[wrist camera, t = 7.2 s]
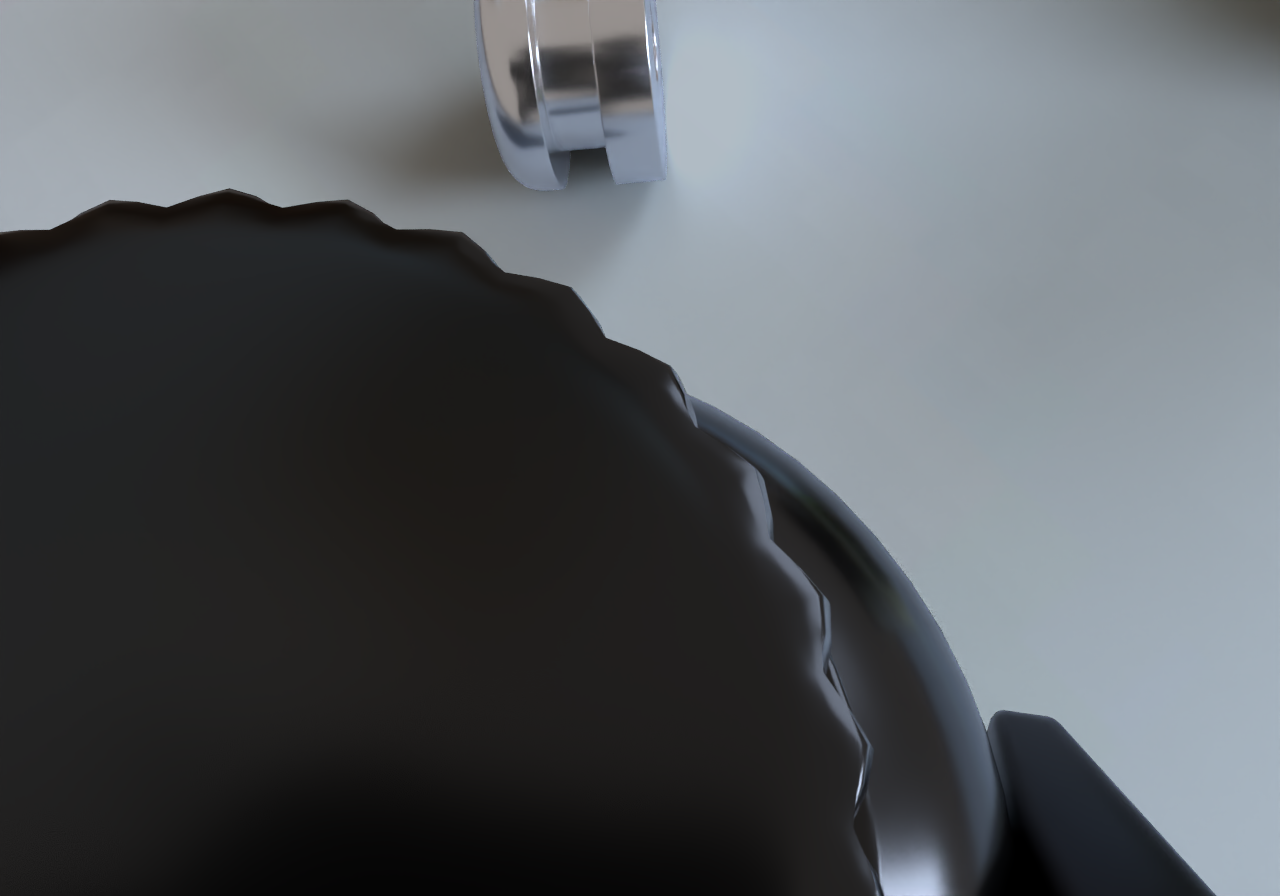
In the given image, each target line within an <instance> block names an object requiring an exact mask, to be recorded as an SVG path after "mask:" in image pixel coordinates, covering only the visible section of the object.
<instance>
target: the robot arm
mask: <svg viewBox="0 0 1280 896" xmlns="http://www.w3.org/2000/svg"><path fill="white" fill-rule="evenodd" d="M987 734H988V737H989V740H990V744H991V747H992V751H993V754H994V758H995V761H996V765H997V768H998V772H999V775H1000V779H1001V782H1002V786H1003V789H1004V793H1005V798H1006V803H1007V809H1008V814H1009V819H1010V825H1011V830H1012V835H1013V841H1014V846H1015V851H1016V859H1017V870H1018V881H1019V892H1020V896H1216V895H1215V894H1214V893H1213V892H1212V890H1211V889H1210V888H1209V887H1208V886H1207V885H1206V884H1205V883H1204V882H1203V881H1202V879H1201V878H1200V877H1199V876H1198V875H1197V874H1196V873H1195V872H1194V871H1193V870H1192V868H1191V867H1190V866H1189V865H1188V864H1187V863H1186V862H1185V861H1184V860H1183V859H1182V857H1181V856H1180V855H1179V854H1178V853H1177V852H1176V851H1175V850H1174V849H1173V848H1172V846H1171V845H1170V844H1169V843H1168V842H1167V841H1166V840H1165V839H1164V838H1163V836H1162V835H1161V834H1160V833H1159V832H1158V831H1157V830H1156V829H1155V828H1154V827H1153V825H1152V824H1151V823H1150V822H1149V821H1148V820H1147V819H1146V818H1145V817H1144V816H1143V814H1142V813H1141V812H1140V811H1139V810H1138V809H1137V808H1136V807H1135V806H1134V805H1133V803H1132V802H1131V801H1130V800H1129V799H1128V798H1127V797H1126V796H1125V795H1124V794H1123V792H1122V791H1121V790H1120V789H1119V788H1118V787H1117V786H1116V785H1115V784H1114V783H1113V781H1112V780H1111V779H1110V778H1109V777H1108V776H1107V775H1106V774H1105V773H1104V772H1103V770H1102V769H1101V768H1100V767H1099V766H1098V765H1097V764H1096V763H1095V762H1094V761H1093V759H1092V758H1091V757H1090V756H1089V755H1088V754H1087V753H1086V752H1085V751H1084V750H1083V748H1082V747H1081V746H1080V745H1079V744H1078V743H1077V742H1076V741H1075V740H1074V739H1073V737H1072V736H1071V735H1070V734H1069V733H1068V732H1067V731H1066V730H1065V729H1064V728H1063V726H1062V725H1061V724H1060V723H1058V722H1057V721H1056V720H1055V719H1053V718H1051V717H1048V716H1040V715H1033V714H1026V713H1019V712H1012V711H1005V710H1000V711H998V712H996V713H995V714H994V716H993V717H992V718H991V720H990V723H989V726H988V730H987Z"/></svg>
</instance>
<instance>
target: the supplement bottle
mask: <svg viewBox="0 0 1280 896" xmlns="http://www.w3.org/2000/svg"><path fill="white" fill-rule="evenodd" d="M0 896H1020V892H1019V881H1018V870H1017V859H1016V851H1015V846H1014V841H1013V835H1012V830H1011V825H1010V819H1009V814H1008V809H1007V803H1006V798H1005V793H1004V789H1003V786H1002V782H1001V779H1000V775H999V772H998V768H997V765H996V761H995V758H994V754H993V751H992V747H991V744H990V740H989V737H988V734H987V731H986V729H985V726H984V724H983V721H982V718H981V716H980V713H979V711H978V708H977V706H976V703H975V701H974V698H973V695H972V693H971V690H970V688H969V685H968V683H967V680H966V678H965V676H964V674H963V672H962V670H961V668H960V666H959V664H958V662H957V660H956V658H955V656H954V654H953V652H952V650H951V648H950V646H949V644H948V642H947V640H946V638H945V636H944V634H943V632H942V630H941V628H940V627H939V625H938V624H937V622H936V621H935V619H934V617H933V616H932V614H931V613H930V611H929V609H928V608H927V606H926V605H925V603H924V602H923V600H922V598H921V597H920V595H919V594H918V592H917V590H916V589H915V587H914V586H913V584H912V583H911V581H910V580H909V578H908V577H907V576H906V575H905V573H904V572H903V571H902V569H901V568H900V567H899V565H898V564H897V563H896V562H895V560H894V559H893V558H892V556H891V555H890V554H889V553H888V551H887V550H886V549H885V547H884V546H883V545H882V543H881V542H880V541H879V540H878V538H877V537H876V536H875V535H874V534H873V533H872V532H871V531H870V530H869V529H868V527H867V526H866V525H865V524H864V523H863V522H862V521H861V520H860V519H859V518H858V517H857V516H856V515H855V514H854V513H853V511H852V510H851V509H850V508H849V507H848V506H847V505H846V504H845V503H844V502H843V501H842V500H841V499H840V498H839V497H838V496H837V495H836V494H835V493H834V492H833V491H832V490H831V489H829V488H828V487H827V486H826V485H825V484H824V483H823V482H821V481H820V480H819V479H818V478H817V477H816V476H815V475H813V474H812V473H811V472H810V471H809V470H808V469H807V468H806V467H804V466H803V465H802V464H801V463H800V462H799V461H797V460H796V459H794V458H793V457H792V456H790V455H789V454H788V453H786V452H785V451H783V450H782V449H781V448H779V447H778V446H776V445H775V444H774V443H772V442H771V441H769V440H768V439H767V438H765V437H764V436H763V435H761V434H760V433H758V432H757V431H755V430H753V429H752V428H750V427H748V426H747V425H745V424H743V423H741V422H740V421H738V420H736V419H735V418H733V417H731V416H729V415H728V414H726V413H724V412H723V411H721V410H719V409H717V408H716V407H714V406H712V405H710V404H708V403H705V402H703V401H701V400H699V399H697V398H695V397H692V396H690V395H688V394H687V393H686V391H685V388H684V386H683V384H682V382H681V380H680V378H679V376H678V374H677V373H676V372H675V371H674V369H673V368H672V367H671V366H670V365H668V364H666V363H663V362H661V361H659V360H657V359H655V358H653V357H651V356H649V355H647V354H645V353H643V352H641V351H639V350H637V349H634V348H632V347H629V346H626V345H624V344H621V343H618V342H616V341H613V340H610V339H608V338H606V337H605V334H604V332H603V330H602V327H601V325H600V324H599V322H598V320H597V319H596V318H595V316H594V315H593V314H592V312H591V311H590V309H589V308H588V307H587V305H586V304H585V303H584V301H583V300H582V299H581V297H580V296H579V295H578V294H577V293H576V292H575V291H574V290H573V288H572V287H568V286H565V285H561V284H558V283H554V282H550V281H547V280H543V279H540V278H534V277H528V276H522V275H517V274H511V273H505V272H504V271H502V270H501V269H500V268H499V267H498V266H497V264H496V263H495V261H494V260H493V259H492V258H491V257H490V256H489V255H488V254H487V252H486V251H484V250H483V249H482V248H481V247H480V246H479V245H477V244H476V243H475V242H474V241H473V240H471V239H470V238H469V237H468V236H467V235H465V234H464V233H463V232H454V231H443V230H431V229H418V230H396V229H394V228H392V227H390V226H388V225H387V224H385V223H383V222H382V221H381V220H380V219H379V218H378V217H377V216H376V215H375V214H374V213H372V212H370V211H368V210H366V209H364V208H363V207H361V206H359V205H357V204H355V203H353V202H352V201H350V200H337V201H325V202H315V203H309V204H303V205H297V206H291V207H285V208H281V207H278V206H275V205H271V204H268V203H267V202H265V201H263V200H262V199H260V198H258V197H257V196H253V195H250V194H247V193H243V192H240V191H237V190H233V189H230V188H229V189H226V190H222V191H218V192H214V193H210V194H206V195H202V196H199V197H196V198H193V199H190V200H187V201H184V202H181V203H178V204H175V205H173V206H170V207H167V208H166V207H161V206H156V205H151V204H145V203H140V202H130V201H116V200H109V201H107V202H104V203H102V204H100V205H98V206H96V207H93V208H91V209H89V210H87V211H85V212H83V213H81V214H79V215H78V216H76V217H75V218H73V219H72V220H70V221H68V222H66V223H64V224H62V225H59V226H57V227H55V228H53V229H51V230H18V231H9V232H0Z"/></svg>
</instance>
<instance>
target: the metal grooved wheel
mask: <svg viewBox="0 0 1280 896" xmlns="http://www.w3.org/2000/svg"><path fill="white" fill-rule="evenodd" d="M474 18H475V31H476V42H477V51H478V59H479V67H480V73H481V80H482V86H483V92H484V97H485V102H486V107H487V112H488V116H489V120H490V124H491V128H492V132H493V136H494V139H495V142H496V145H497V148H498V151H499V153H500V156H501V158H502V160H503V162H504V164H505V166H506V168H507V169H508V171H509V172H510V173H511V175H512V176H513V177H514V178H515V179H516V180H517V181H518V182H519V183H521V184H522V185H524V186H526V187H528V188H530V189H533V190H538V191H552V190H562V189H564V188H565V187H566V185H567V182H568V178H569V170H570V153H571V151H572V150H582V149H593V148H604V147H606V152H607V157H608V162H609V166H610V170H611V174H612V177H613V179H614V181H615V183H616V184H629V183H640V182H651V181H662V180H666V177H667V145H666V124H665V107H664V92H663V78H662V65H661V52H660V40H659V29H658V18H657V7H656V0H474Z"/></svg>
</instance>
